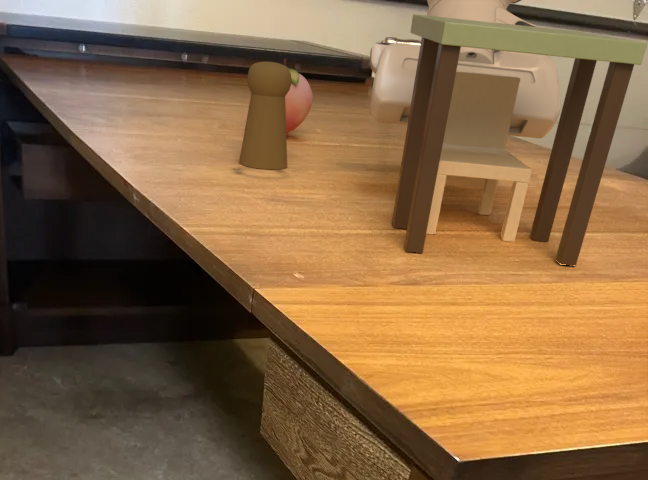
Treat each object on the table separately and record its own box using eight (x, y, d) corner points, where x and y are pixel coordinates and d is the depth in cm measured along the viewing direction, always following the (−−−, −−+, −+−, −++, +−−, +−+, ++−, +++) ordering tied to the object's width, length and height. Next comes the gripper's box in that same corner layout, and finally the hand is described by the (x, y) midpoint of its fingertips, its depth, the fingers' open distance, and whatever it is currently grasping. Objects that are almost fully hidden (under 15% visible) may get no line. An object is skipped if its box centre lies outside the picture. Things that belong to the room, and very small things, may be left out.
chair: (488, 212, 89) (518, 76, 82) (514, 242, 79) (551, 90, 72) (406, 205, 89) (430, 67, 82) (423, 233, 79) (451, 80, 72)
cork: (252, 157, 104) (259, 58, 98) (295, 165, 102) (304, 64, 96) (229, 163, 100) (235, 59, 94) (274, 171, 98) (282, 66, 92)
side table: (532, 225, 86) (581, 31, 76) (581, 269, 73) (648, 43, 63) (382, 211, 85) (413, 14, 75) (404, 254, 72) (444, 21, 62)
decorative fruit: (237, 130, 121) (241, 53, 115) (285, 131, 125) (292, 56, 119) (267, 143, 114) (273, 61, 109) (317, 143, 118) (325, 64, 112)
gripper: (376, 13, 86) (371, 130, 83) (566, 34, 87) (567, 150, 84) (365, 58, 92) (360, 168, 89) (543, 77, 93) (543, 186, 91)
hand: (462, 159), depth 87 cm, fingers closed, pressing on chair
